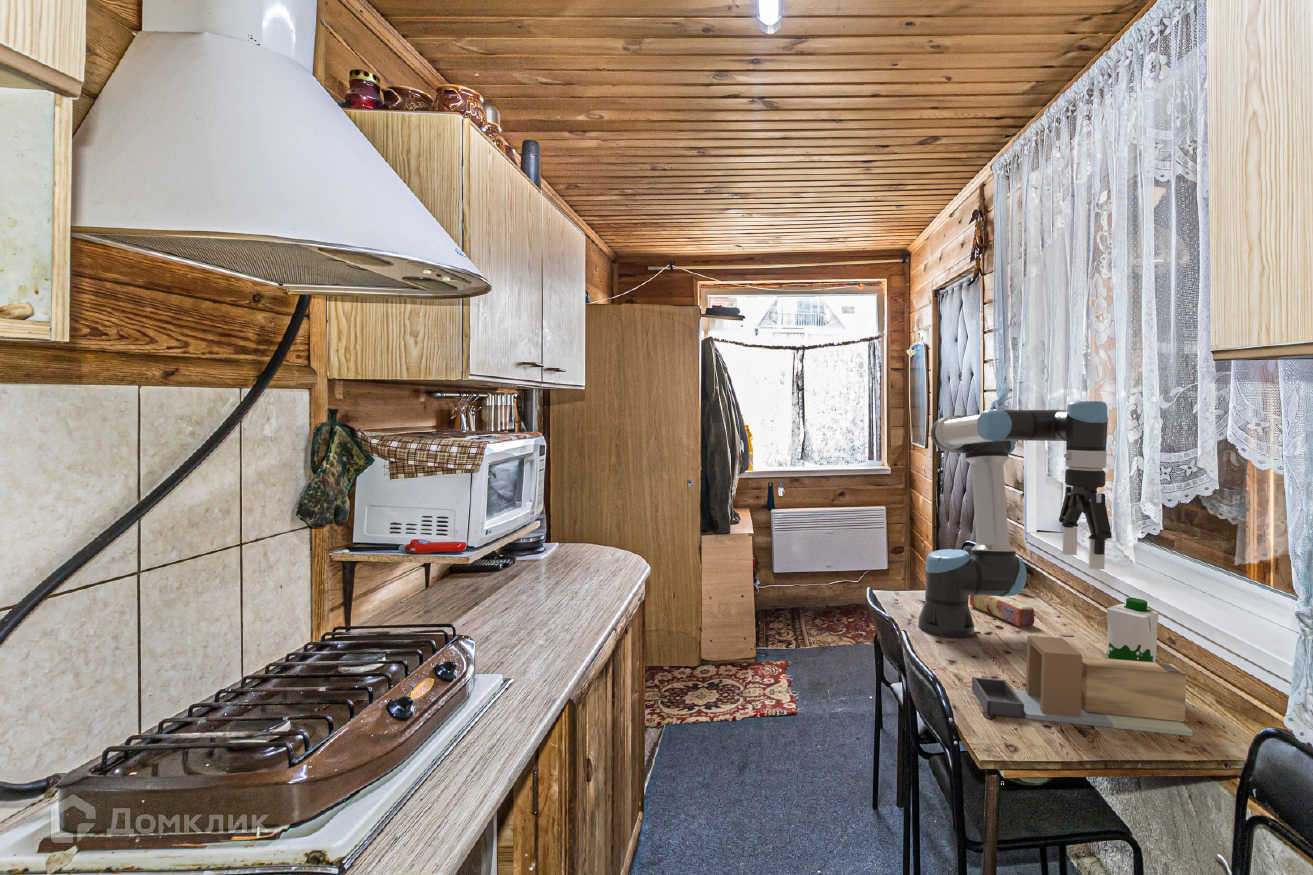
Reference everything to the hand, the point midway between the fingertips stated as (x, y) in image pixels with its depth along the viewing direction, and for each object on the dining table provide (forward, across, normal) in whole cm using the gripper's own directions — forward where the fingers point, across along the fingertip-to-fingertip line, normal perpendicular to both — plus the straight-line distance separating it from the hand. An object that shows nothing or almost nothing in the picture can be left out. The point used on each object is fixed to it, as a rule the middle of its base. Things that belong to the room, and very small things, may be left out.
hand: (1082, 561), depth 140 cm
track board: (+31, +10, -1) cm, 32 cm away
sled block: (+29, +10, +5) cm, 32 cm away
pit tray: (+31, +10, -20) cm, 38 cm away
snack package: (+31, -55, 0) cm, 63 cm away
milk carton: (+31, -8, +14) cm, 35 cm away
